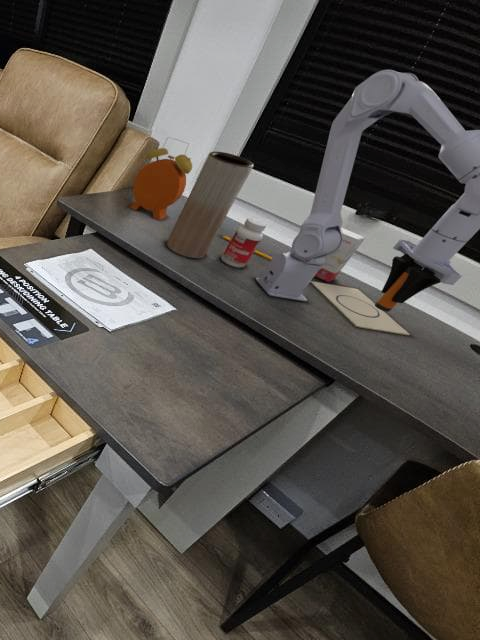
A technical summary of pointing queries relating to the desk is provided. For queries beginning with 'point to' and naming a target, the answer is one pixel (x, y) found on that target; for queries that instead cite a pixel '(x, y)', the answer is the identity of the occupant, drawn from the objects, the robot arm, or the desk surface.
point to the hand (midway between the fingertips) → (391, 297)
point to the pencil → (254, 251)
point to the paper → (359, 308)
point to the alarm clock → (160, 182)
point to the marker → (392, 292)
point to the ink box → (340, 256)
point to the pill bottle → (244, 243)
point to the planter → (208, 203)
